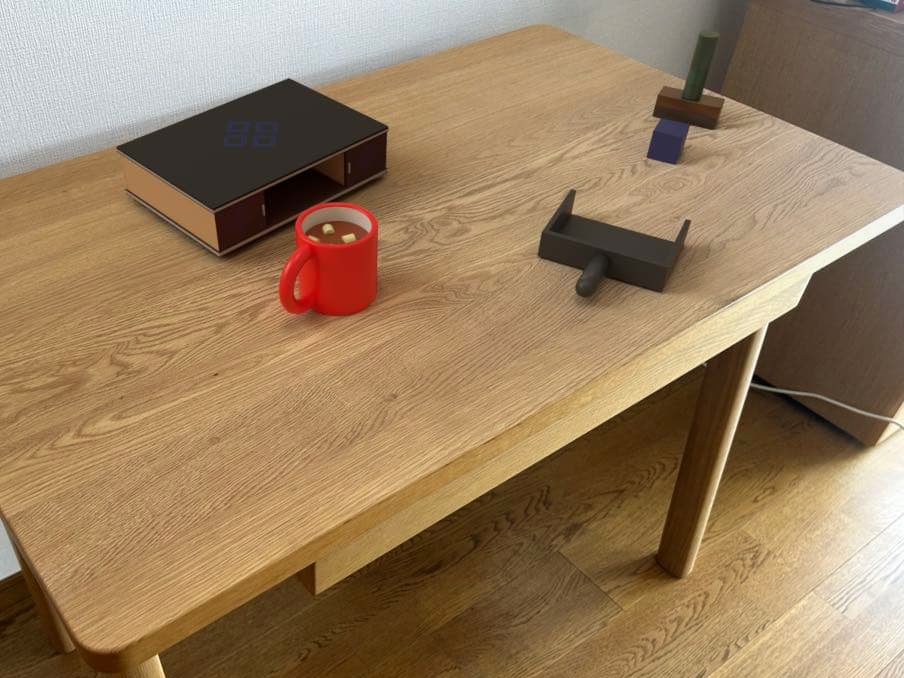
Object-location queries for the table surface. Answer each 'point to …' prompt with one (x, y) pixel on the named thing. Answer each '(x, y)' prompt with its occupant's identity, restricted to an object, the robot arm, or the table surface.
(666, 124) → the navy blue toy block
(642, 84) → the table surface
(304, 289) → the mug
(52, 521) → the table surface
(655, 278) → the dustpan
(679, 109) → the brush
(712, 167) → the table surface
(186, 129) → the low tv stand
